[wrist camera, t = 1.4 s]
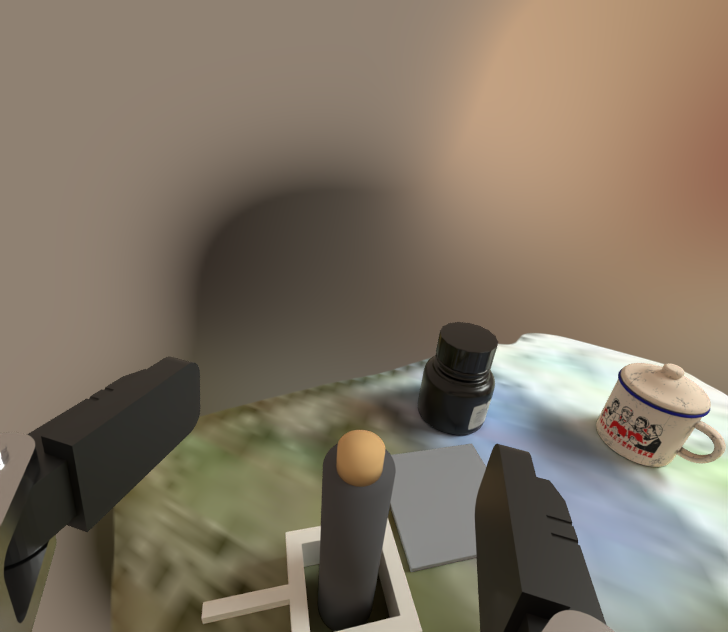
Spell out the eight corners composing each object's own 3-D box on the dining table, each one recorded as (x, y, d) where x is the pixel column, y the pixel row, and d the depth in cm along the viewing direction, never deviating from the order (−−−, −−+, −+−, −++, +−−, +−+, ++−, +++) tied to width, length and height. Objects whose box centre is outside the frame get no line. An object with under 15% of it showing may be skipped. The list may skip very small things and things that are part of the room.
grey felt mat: (471, 446, 46) (471, 443, 46) (530, 545, 36) (531, 542, 36) (375, 460, 43) (375, 457, 43) (410, 572, 33) (411, 568, 33)
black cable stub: (365, 566, 33) (386, 416, 25) (378, 625, 30) (409, 473, 21) (314, 577, 32) (318, 424, 24) (322, 640, 29) (330, 486, 20)
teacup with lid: (578, 427, 51) (613, 354, 45) (618, 407, 55) (654, 339, 49) (676, 502, 42) (735, 423, 36) (716, 472, 46) (774, 397, 40)
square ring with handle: (382, 537, 36) (386, 514, 34) (415, 653, 28) (422, 631, 27) (213, 570, 32) (208, 546, 30) (200, 713, 25) (193, 691, 23)
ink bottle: (488, 445, 47) (515, 365, 41) (416, 433, 47) (432, 354, 42) (478, 393, 55) (499, 321, 49) (417, 384, 56) (430, 312, 50)
